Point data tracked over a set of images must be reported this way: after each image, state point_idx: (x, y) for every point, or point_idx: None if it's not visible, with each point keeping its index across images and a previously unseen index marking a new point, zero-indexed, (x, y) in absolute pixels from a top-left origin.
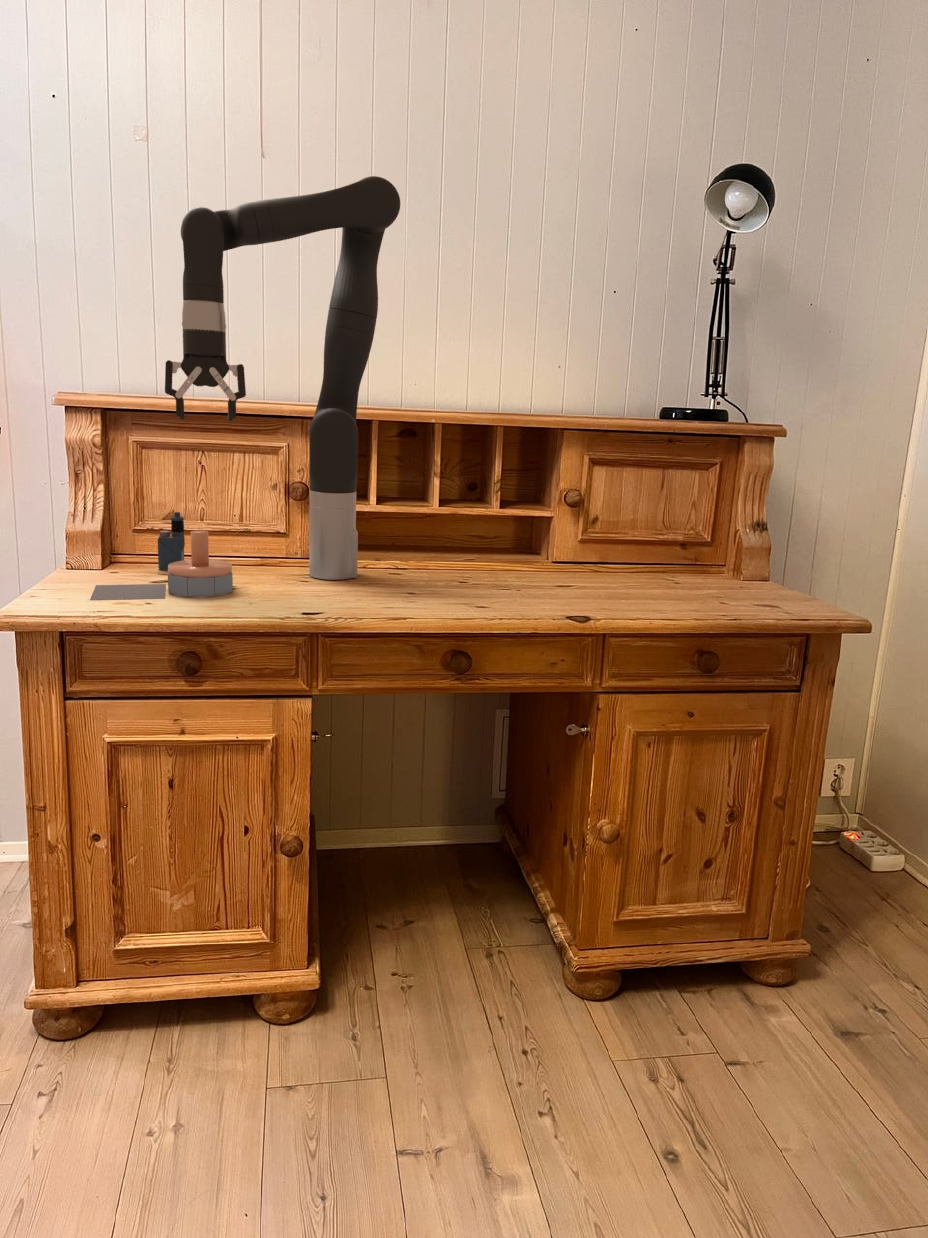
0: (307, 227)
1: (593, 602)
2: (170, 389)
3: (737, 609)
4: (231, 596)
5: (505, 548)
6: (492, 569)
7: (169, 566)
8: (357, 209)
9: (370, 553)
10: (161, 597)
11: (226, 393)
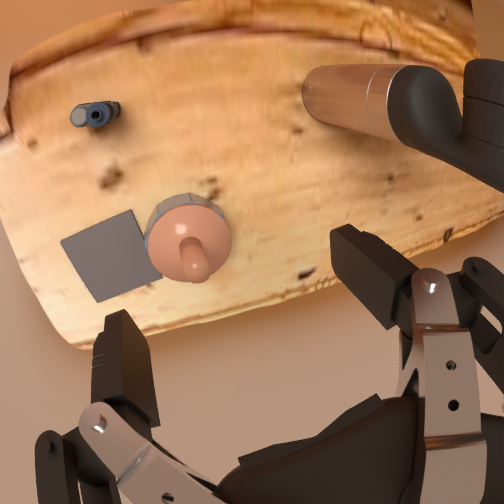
0: None
1: (468, 190)
2: (110, 481)
3: (498, 196)
4: None
5: None
6: (453, 67)
7: (155, 266)
8: None
9: None
10: (156, 275)
11: (402, 363)
